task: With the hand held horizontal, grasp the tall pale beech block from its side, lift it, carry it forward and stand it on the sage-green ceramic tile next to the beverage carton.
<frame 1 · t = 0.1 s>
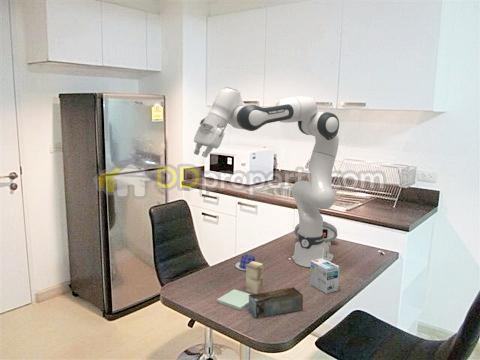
hand: (199, 155, 161), 54 cm above the table, tool tilted 30°, fingers open, 8 cm apart
beverage carton: (275, 310, 149), on the table
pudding: (247, 267, 190), on the table
beech block: (254, 289, 165), on the table
alarm clock: (315, 243, 223), on the table
sage tile: (237, 300, 155), on the table
light bulb box: (323, 288, 168), on the table
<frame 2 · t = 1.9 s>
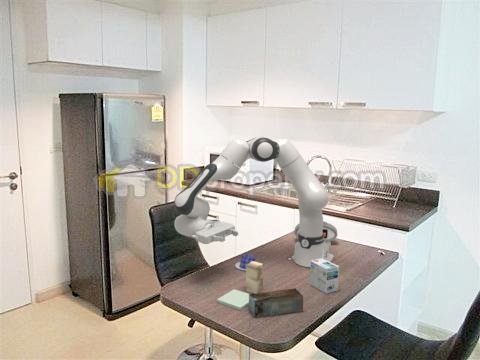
hand: (230, 236, 168), 20 cm above the table, tool horizontal, fingers open, 8 cm apart
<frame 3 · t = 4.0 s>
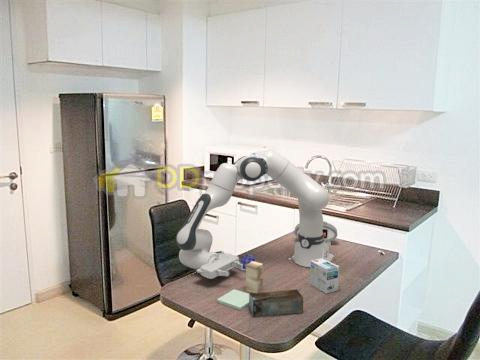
hand: (235, 270, 170), 6 cm above the table, tool horizontal, fingers open, 8 cm apart
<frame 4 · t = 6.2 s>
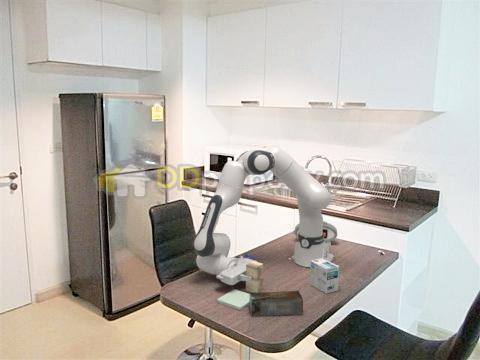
hand: (256, 276, 164), 6 cm above the table, tool horizontal, fingers closed on beech block, 5 cm apart
beech block: (254, 289, 165), on the table, touching gripper
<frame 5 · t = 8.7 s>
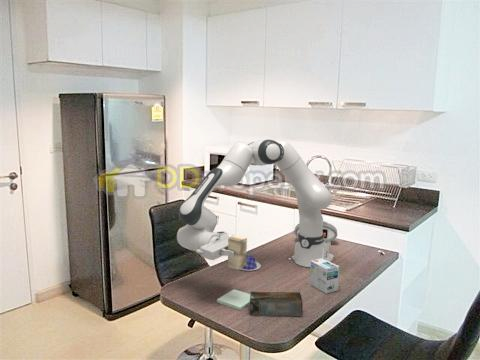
hand: (239, 251, 151), 20 cm above the table, tool horizontal, fingers closed on beech block, 5 cm apart
beech block: (237, 266, 153), point 14 cm above the table, touching gripper
when the fingers open (8 cm above the table, at t = 11.3 s): beech block stays where it is, resting on sage tile.
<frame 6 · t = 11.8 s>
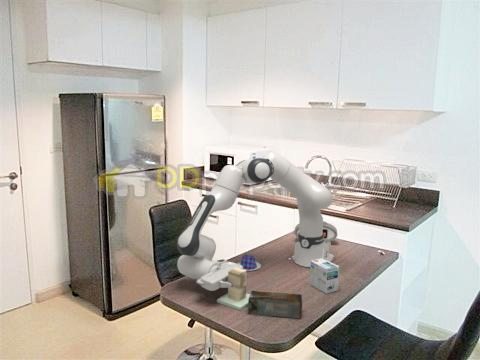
hand: (239, 281, 153), 8 cm above the table, tool horizontal, fingers open, 8 cm apart
beech block: (237, 297, 155), point 1 cm above the table, touching sage tile
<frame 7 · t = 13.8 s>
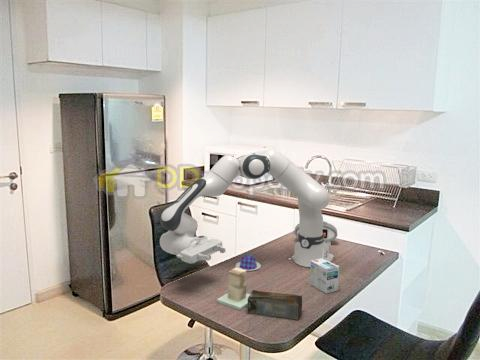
hand: (217, 254, 161), 16 cm above the table, tool horizontal, fingers open, 8 cm apart
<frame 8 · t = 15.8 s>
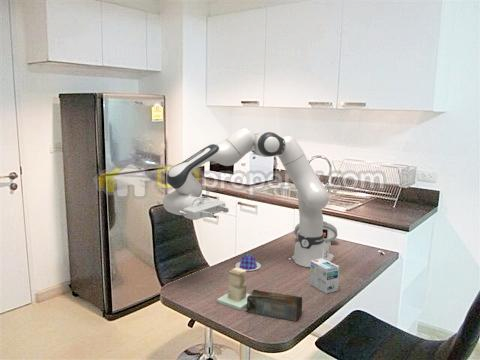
hand: (220, 212, 161), 32 cm above the table, tool horizontal, fingers open, 8 cm apart
at the end: beech block inside the target area on the sage tile (0.0 cm from its centre), point 1.2 cm above the sage tile's base; beech block tilted 0°; the gripper is holding nothing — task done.
